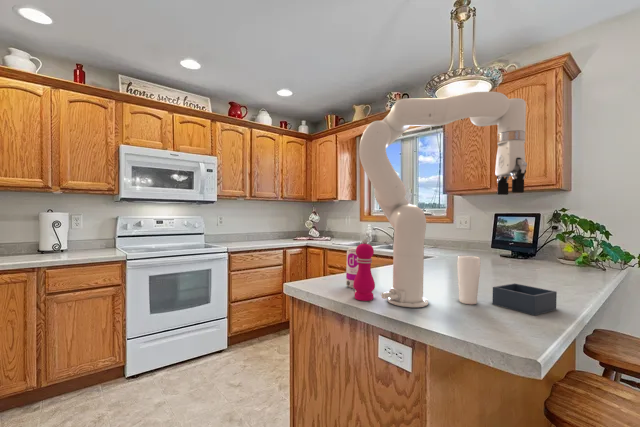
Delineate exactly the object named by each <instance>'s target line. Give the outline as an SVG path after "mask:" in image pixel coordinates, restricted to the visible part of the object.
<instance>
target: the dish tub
mask: <svg viewBox="0 0 640 427" xmlns="http://www.w3.org/2000/svg"><path fill="white" fill-rule="evenodd" d="M557 293H558V292H557V290H556V291H555V290H550V289H547V288H540V287H535V286H531V285H526V284H520V283H508V284H502V285H497V286H496V285H495V286H492V302H491V303H492V305H494V306H498V307H501V308H505V309H508V310H512V311H516V312H520V313H524V314H527V315H531V316H538V315H542V314H545V313H549V312H552V311H556V310H557V299H558V298H557V297H558V296H557Z"/></svg>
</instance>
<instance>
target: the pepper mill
mask: <svg viewBox="0 0 640 427" xmlns="http://www.w3.org/2000/svg"><path fill="white" fill-rule="evenodd" d="M361 242H362V243H360V244H358V245H357V246H356V247H357V248H356V254H357V256H358V258H357V259H358V261H357V262H358V272H357V275H356V277H355V279H354V283H353V287H354V288H353V290H355V291H354V299H355V300H357V301H362V302H363V301H364V302H370V301H372V300H374V293H373V292H374V290H375V289H376V282H375V279H374V277H373V274H372V268H371V264H372V263H373V258H372V257H373V256H374V252H375V250H374V247H373V246H372V244H369V243H368V239H367V238H363V240H362V241H361Z"/></svg>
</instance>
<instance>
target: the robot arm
mask: <svg viewBox="0 0 640 427" xmlns="http://www.w3.org/2000/svg"><path fill="white" fill-rule="evenodd" d="M526 117H527V102H526V100H525V99H523V98H519V97H513V98H509V97H508V96H507V95H506V94H504V93H502V92H500V91H471V92H465V93H460V94H456V95H451V96H446V97H434V98H433V97H432V98H431V97H430V98H429V97H427V98H425V97H424V98H423V97H419V98H414V97H413V98H401V99H398V100H397V101H396V102H394V104H393V105H392V107H391V109H390V111H389V113H388V114H387V115H385V117H384V118H383V119H382V120H374V121H372V122H371V123H369V124H368V125H367V126H366V128H365V129H364V131H363V133H362V135H361V138H360V140H359V147H358V155H359V156H358V157H359V160H360V164H361V166H362V168H363V171H364V172H365V174H366V176H367V178H368V180H369V182H370V183H371V185H372V187H373V188H374V198H375V200H376V202H377V204H378V206H379V208H380V209H381V211H382V213H383V214H384V215H385V217H386V219H387V221H388V222H389V224H390V225H391V226H392V228H393V229H394V232H393V234H394V235H393V244H392V246H393V247H392V250H393V251H392V254H393V255H392V256H393V258H392V259H393V260H392V266H393V267H392V287H390V289H389V291H384V292H381V294H380V296H381V298H382V299H383V300H385V299H387V302H388V303H389V304H392V305H394V306H398V307H403V308H413V309H414V308H424V307H427V306H428V305H429V300H428V299H427V298H426V297H424V273H425V272H424V266H425V265H424V264H425V263H424V262H425V237H426V230H427V217H426V215H425V212H424V211H423V209H422V208H420V207H419V206H417V205H415V204H411V203H410V201H409V200H408V199H407V197H406V195H407V188H406V185H405V184H404V182H403V180H402V179H401V178H400V176H399V174H398V173H397V171H396V170H395V168H394V167H393V165H392V162H391V161H390V159H389V157H388V154H387V148H388V147H390V146H391V145H392V144H393V143H394V142H396V140H398V138H399V137H401V136H402V135H403V134H404V133H405V132H406V131H407V130H408V129H409V128H410V127H440V126H445V125H448V124H449V125H450V124H451V123H454V122H456V121H459V120H463V119H469V120H470V122H471V123H472V124H473V125H474V126H477V127H489V126H490V127H491V126H497V151H496V157H495V158H496V159H495V170H494V171H495V172H494V175H495V176H496V178H497V180H496V183H497V193H496V194H497V195H501V196H508V195H509V187H510V184H509V182H508V181H509V178H510V177H512V179H511V193H513V194H514V193H515V194H522V193H525V179H526V173H527V167H528V162H526V148H525V144H526V126H527V125H526V122H527V121H526V120H527V118H526Z"/></svg>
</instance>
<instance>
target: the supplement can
mask: <svg viewBox="0 0 640 427" xmlns="http://www.w3.org/2000/svg"><path fill="white" fill-rule="evenodd" d="M356 248H357V246H352V247H351V246H350V247H348V249H347V251H346V268H345V270H346V272H345V274H346V275H345V276H346V278H345V285H346V286H347V287H348V288H350V289H354V287H353V283H354V279H355V277H356V275H357V272H358V262H357V261H358V259H357V258H358V256H357V254H356Z"/></svg>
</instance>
